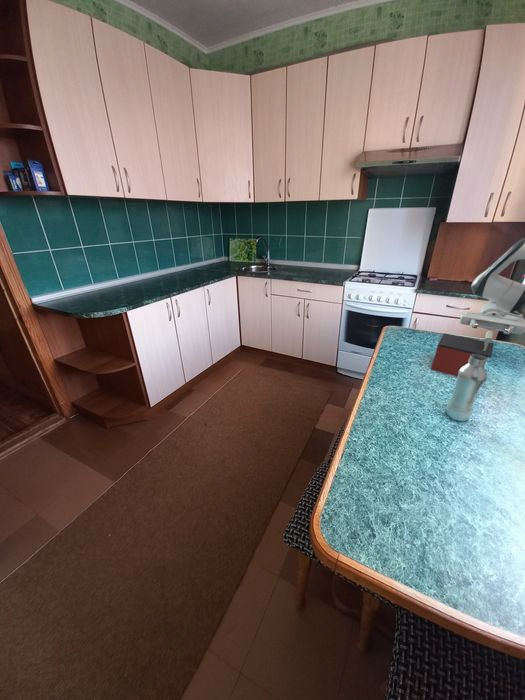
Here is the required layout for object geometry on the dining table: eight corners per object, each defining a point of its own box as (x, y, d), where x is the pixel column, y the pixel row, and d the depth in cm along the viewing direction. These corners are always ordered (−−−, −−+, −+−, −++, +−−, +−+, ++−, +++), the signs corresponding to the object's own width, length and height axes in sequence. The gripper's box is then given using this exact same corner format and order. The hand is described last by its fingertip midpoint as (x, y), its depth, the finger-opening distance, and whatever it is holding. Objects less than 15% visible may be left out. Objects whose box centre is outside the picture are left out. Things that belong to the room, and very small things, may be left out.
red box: (480, 368, 109) (489, 344, 105) (478, 382, 101) (487, 357, 97) (436, 357, 117) (443, 334, 113) (430, 369, 109) (437, 346, 105)
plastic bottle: (440, 416, 86) (460, 357, 77) (448, 406, 90) (468, 349, 80) (465, 427, 81) (489, 366, 72) (472, 416, 85) (496, 357, 76)
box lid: (492, 345, 104) (498, 329, 102) (490, 358, 96) (497, 341, 93) (443, 334, 113) (447, 320, 110) (437, 345, 105) (442, 330, 102)
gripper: (463, 305, 119) (459, 315, 109) (528, 315, 108) (530, 327, 98) (459, 319, 122) (454, 330, 112) (521, 330, 111) (522, 343, 101)
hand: (490, 329), depth 105 cm, fingers open, 8 cm apart
